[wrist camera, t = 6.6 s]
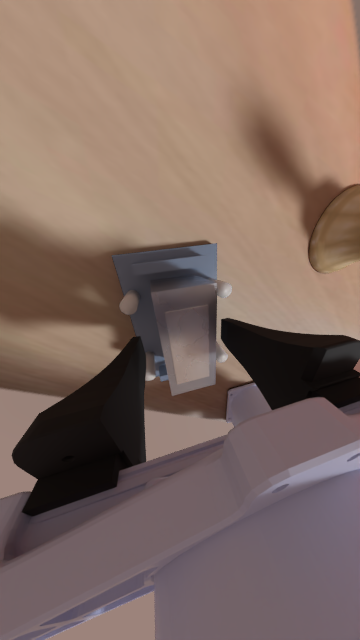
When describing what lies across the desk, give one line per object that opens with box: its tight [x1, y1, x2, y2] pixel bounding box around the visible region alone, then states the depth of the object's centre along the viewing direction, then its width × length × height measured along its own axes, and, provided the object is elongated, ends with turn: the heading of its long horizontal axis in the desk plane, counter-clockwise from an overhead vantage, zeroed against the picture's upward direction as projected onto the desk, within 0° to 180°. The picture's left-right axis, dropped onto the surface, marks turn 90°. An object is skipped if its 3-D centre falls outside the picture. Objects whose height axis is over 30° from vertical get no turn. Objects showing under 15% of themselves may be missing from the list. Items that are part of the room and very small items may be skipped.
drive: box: [150, 275, 217, 396], centre depth 12 cm, size 9×4×5 cm, turn 6°
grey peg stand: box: [112, 243, 232, 381], centre depth 13 cm, size 14×9×4 cm, turn 6°
